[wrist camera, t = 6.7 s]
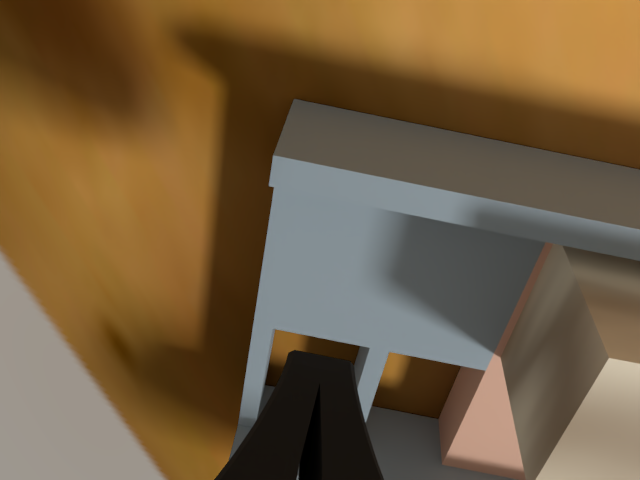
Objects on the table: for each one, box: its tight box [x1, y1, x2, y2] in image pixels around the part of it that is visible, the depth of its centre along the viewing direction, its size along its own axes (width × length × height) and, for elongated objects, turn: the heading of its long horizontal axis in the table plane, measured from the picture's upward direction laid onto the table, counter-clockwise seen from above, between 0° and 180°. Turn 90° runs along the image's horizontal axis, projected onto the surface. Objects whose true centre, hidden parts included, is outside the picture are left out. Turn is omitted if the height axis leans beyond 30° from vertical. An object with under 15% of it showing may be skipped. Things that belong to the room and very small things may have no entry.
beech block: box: [500, 244, 640, 480], centre depth 15 cm, size 4×4×4 cm
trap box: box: [229, 99, 640, 480], centre depth 19 cm, size 12×13×4 cm
